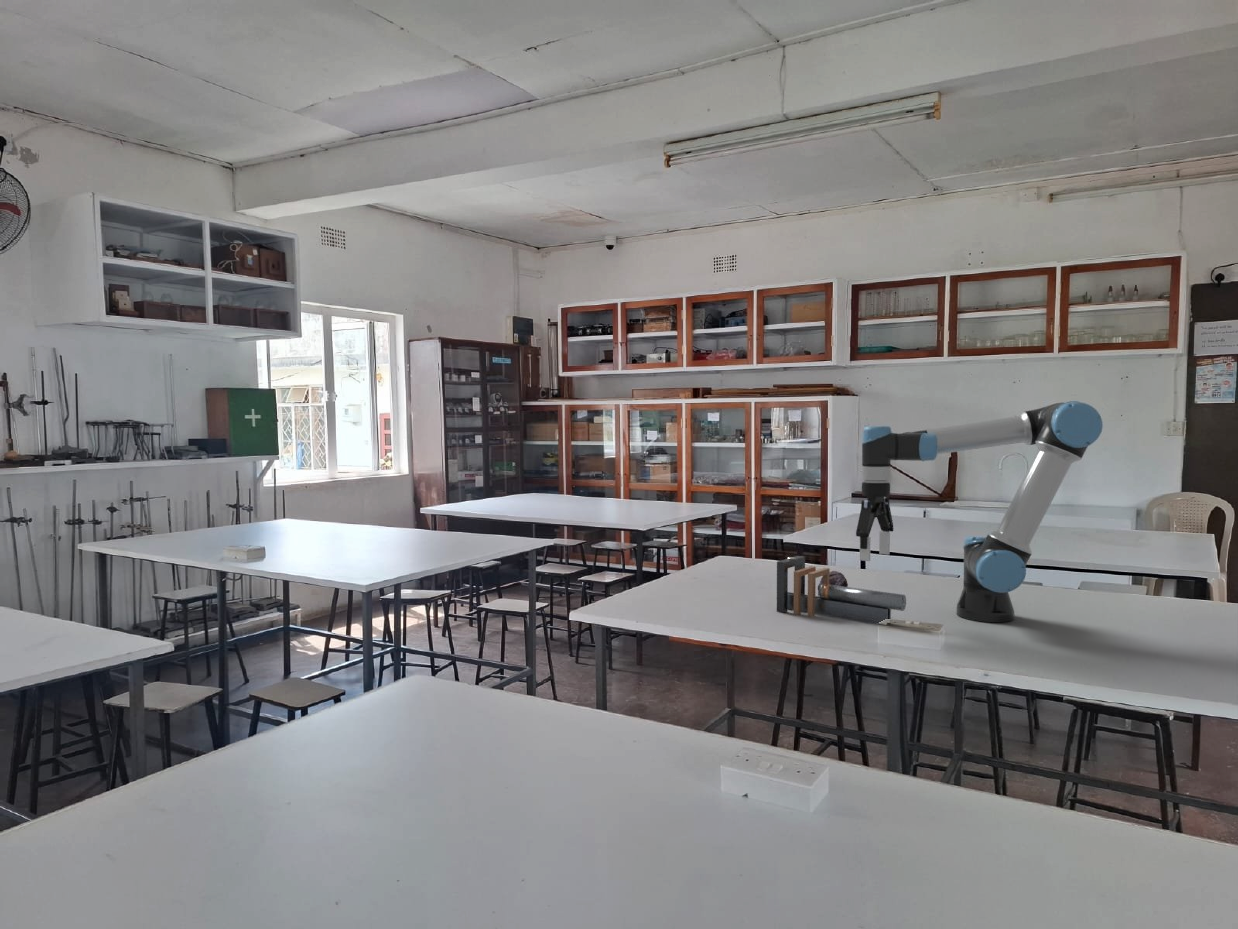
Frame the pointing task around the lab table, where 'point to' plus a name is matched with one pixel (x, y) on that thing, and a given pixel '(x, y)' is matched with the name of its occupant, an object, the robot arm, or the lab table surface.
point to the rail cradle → (842, 609)
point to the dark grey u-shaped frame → (783, 580)
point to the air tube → (863, 597)
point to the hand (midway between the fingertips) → (874, 557)
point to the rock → (835, 580)
